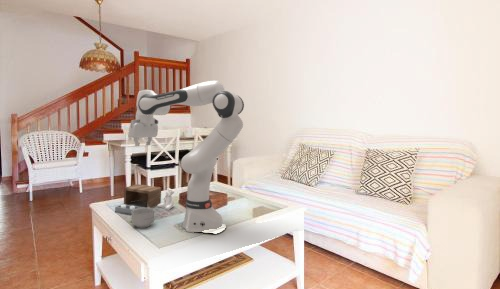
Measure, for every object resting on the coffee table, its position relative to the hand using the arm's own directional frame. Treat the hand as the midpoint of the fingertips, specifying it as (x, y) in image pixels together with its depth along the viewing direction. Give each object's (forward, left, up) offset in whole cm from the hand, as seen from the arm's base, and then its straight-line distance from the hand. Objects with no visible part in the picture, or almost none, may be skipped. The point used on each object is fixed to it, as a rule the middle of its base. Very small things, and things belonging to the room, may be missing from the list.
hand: (142, 145), depth 155 cm
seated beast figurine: (-5, -20, -39) cm, 44 cm away
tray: (+9, -2, -39) cm, 40 cm away
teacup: (-11, +10, -39) cm, 42 cm away
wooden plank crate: (+12, -18, -39) cm, 45 cm away
